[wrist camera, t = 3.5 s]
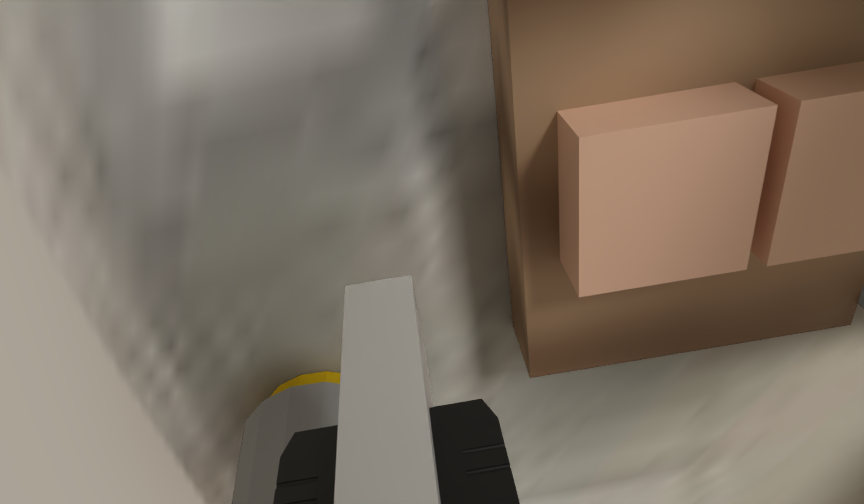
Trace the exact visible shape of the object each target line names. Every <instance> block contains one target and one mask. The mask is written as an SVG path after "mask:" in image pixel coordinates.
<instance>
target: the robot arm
mask: <svg viewBox="0 0 864 504" xmlns="http://www.w3.org/2000/svg"><path fill="white" fill-rule="evenodd" d="M276 485H277V488H276V489H275V494H274V501H273V504H520V503H519V499H518V495H517V491H516V487H515V483H514V479H513V475H512V471H511V468H510V464H509V459H508V456H507V452H506V448H505V444H504V440H503V436H502V432H501V428H500V424H499V420H498V417H497V416H496V415H495V414H494V413H493V412H492V410H491V409H490V408H489V407H488V406H487V404H486V403H485V402H484V401H483V400H482V399H477V400H471V401H466V402H460V403H454V404H448V405H442V406H436V407H433V399H432V392H431V384H430V377H429V369H428V362H427V357H426V352H425V346H424V341H423V336H422V331H421V325H420V320H419V315H418V309H417V304H416V299H415V293H414V288H413V283H412V277H411V275H407V276H401V277H395V278H389V279H383V280H377V281H371V282H365V283H359V284H353V285H348V286H345V298H344V317H343V337H342V356H341V375H340V395H339V414H338V425H334V426H329V427H323V428H317V429H311V430H305V431H299V432H295V433H294V434H293V436H292V438H291V439H290V441H289V443H288V445H287V446H286V448H285V450H284V451H283V453H282V455H281V456H280V461H279V468H278V475H277V481H276Z"/></svg>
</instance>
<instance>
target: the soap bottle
mask: <svg viewBox="0 0 864 504" xmlns="http://www.w3.org/2000/svg"><path fill="white" fill-rule="evenodd" d="M340 375H341V373H337V372H330V371H324V372H317V373H310V374H304V375H299V376H297V377H295V378H293V379H291V380H289V381H287V382H285V383H283V384H281V385H279V386H278V387H277V389H276V390H275V391H274V392H273V393H272V394H271V396H270V397H269V398H267V399H265V400H263V401H262V402H261V403H260V404H259V406H258V407H257V408H256V409H255V410H254V411H253V413H252V414H251V415H250V416H249V417H248V418H247V420H246V421H245V426H244V432H243V438H242V444H241V450H240V456H239V462H238V469H237V475H236V481H235V487H234V493H233V500H232V504H273V501H274V494H275V489H276V488H277V485H276V481H277V475H278V468H279V461H280V456H281V455H282V453H283V451H284V450H285V448H286V446H287V445H288V443H289V441H290V439H291V438H292V436H293V434H294V433H295V432H299V431H305V430H311V429H317V428H323V427H329V426H334V425H338V414H339V395H340Z"/></svg>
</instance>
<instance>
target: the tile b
mask: <svg viewBox="0 0 864 504" xmlns="http://www.w3.org/2000/svg"><path fill="white" fill-rule="evenodd" d="M754 92H755V93H757V94H758V95H760V96H762V97H764V98H766V99H768V100H770V101H771V102H773V103H775V104H777V105H778V107H777V113H776V118H775V123H774V128H773V134H772V139H771V144H770V150H769V155H768V160H767V165H766V171H765V176H764V181H763V186H762V192H761V197H760V202H759V207H758V213H757V218H756V223H755V228H754V234H753V239H752V244H751V249H750V251H751V252H752V253H753V254H754V255H755V256H756V257H757V258H759V259H760V260H761V261H762V262H763V263H764V264H765V265H766V266H772V265H778V264H784V263H790V262H796V261H802V260H808V259H814V258H820V257H827V256H833V255H839V254H845V253H851V252H857V251H863V250H864V61H861V62H855V63H849V64H842V65H836V66H830V67H824V68H818V69H812V70H806V71H800V72H793V73H787V74H781V75H775V76H769V77H763V78H757V79H756V85H755V91H754Z"/></svg>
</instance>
